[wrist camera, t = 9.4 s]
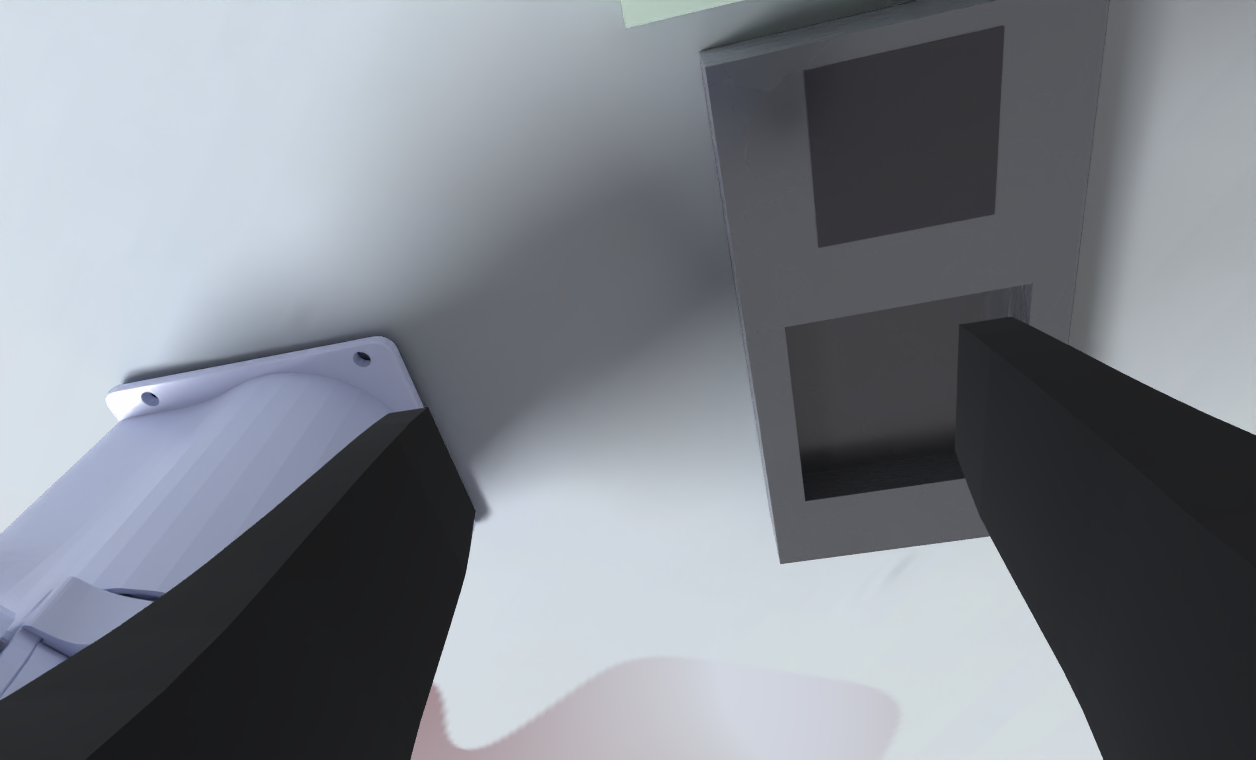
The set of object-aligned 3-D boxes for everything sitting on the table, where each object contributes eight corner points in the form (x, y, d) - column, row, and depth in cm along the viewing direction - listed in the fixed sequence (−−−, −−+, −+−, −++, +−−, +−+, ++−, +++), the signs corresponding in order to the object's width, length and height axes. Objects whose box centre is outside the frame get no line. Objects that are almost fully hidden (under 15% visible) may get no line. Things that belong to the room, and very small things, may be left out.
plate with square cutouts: (770, 515, 25) (780, 565, 23) (698, 51, 17) (705, 68, 15) (1014, 480, 24) (1046, 529, 22) (1058, -33, 16) (1114, -27, 14)
